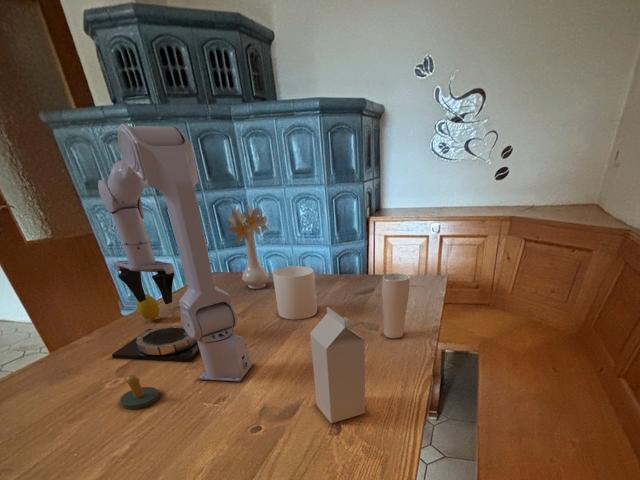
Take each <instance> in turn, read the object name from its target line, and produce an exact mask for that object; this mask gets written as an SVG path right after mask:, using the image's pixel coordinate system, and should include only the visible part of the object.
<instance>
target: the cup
mask: <svg viewBox="0 0 640 480" xmlns="http://www.w3.org/2000/svg"><path fill="white" fill-rule="evenodd" d="M272 280H273V286H274V291H275V299H276V300H275V301H276V306H277V313H278V316H279V317H281V318H283V319H286V320H293V321H294V320H304V319H309V318H312V317H314V316H315V315H316V314H317V313H318V307H317V295H316V294H317V293H316V292H317V291H316V280H315V270H314V269H313V268H311V267H309V266H301V265H291V266H283V267H279V268H277V269H274V270H273V272H272Z"/></svg>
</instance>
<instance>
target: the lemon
mask: <svg viewBox="0 0 640 480" xmlns="http://www.w3.org/2000/svg"><path fill="white" fill-rule="evenodd" d="M145 296H146V300H144V301H142V302H138V300H137V299H136V301H135V304H136V305H135V306H136V309H137V312H138V314H139V315H140V316H141V317H142V318H144V319H146V320H149V321H150V322H153V321H155V319H157V318H158V317H159V315H160V306H159V303H158V302H157V300H156V299H155V297H153V296H152V295H150V294H147V293H145Z"/></svg>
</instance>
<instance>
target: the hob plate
mask: <svg viewBox="0 0 640 480" xmlns="http://www.w3.org/2000/svg"><path fill="white" fill-rule="evenodd" d="M152 329H153V328H147V329H146V330H145V331H144V332H146V331H149V330H152ZM144 332H142V333H141V334H143V333H144ZM141 334H139V335H138V336H140V335H141ZM138 336H136V337H134V339H132V340H130V341H129V342H128V343H126V344H125V345H123V346H121V347H120V348H118V349H117V350H116V351H114V352H113V353H111V356H112V358H113V359H122V360H123V359H124V360H142V361H143V360H144V361H160V362H161V361H163V362H182V363H191V362H192V361H194V359H196V357H197V356H199V355H200V354H201V353H200V350H199V346H198V343H197V341H196V342H195V343H194V344H193V345H192V346H191V347H189V348H187V349H184V350H182V351H179V352H176V353H170V354H164V355H162V354H161V355H150V354H145V353H143V352H141V351H139V348H138V346H137V343H136V341H137V338H138ZM185 337H186V335H167V336H162V337H159V338H156V339H153V340H151V341H150V342H148V343H147V344H149V345H163V344H169V343H174V342H177V341H179V340H182V339H184V338H185Z"/></svg>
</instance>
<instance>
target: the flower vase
mask: <svg viewBox="0 0 640 480" xmlns="http://www.w3.org/2000/svg"><path fill="white" fill-rule="evenodd" d="M245 207H246V210H247V211H243V212H242V213H241V210H240V208H239V207H238V208H237V209H236V208H234V207H232V208H231V215H229V216H228V217H227V221H226V224H228V225H230V226H228V228H227V230H228V232H229V233H230V234H231V233H233V234H236V235H235V243H237V244H240V243H242V241H243V240H244V243H245V249H246V256H247V263H246V267H245V269H244V270H243V272H242V274H241V278H242V281H243V282H244V283H245V284H246V285H247V286H248V288H249V289H252V290H259V289H263V288H266V286H267V283H268V281H269V279H270V275H269V272H268V271H267V269H266V268H264V267H263V266H262V264H261V263H260V260H259V258H258V254H257V248H256V244H255V233H256V234H257V235H258V236H259V235H261V232H262V231H261V228H262V229H263V231H265V233H270V230H269V227H268V226H267V225H266V224H267V221H268V219H267V216H265V215H264V216H263V209H262V207H260V209H259V207H257V206H256V207H254V208H253V209H252V208H251V206H250V205H248V204H246V206H245ZM260 227H261V228H260ZM243 238H244V239H243Z"/></svg>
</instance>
